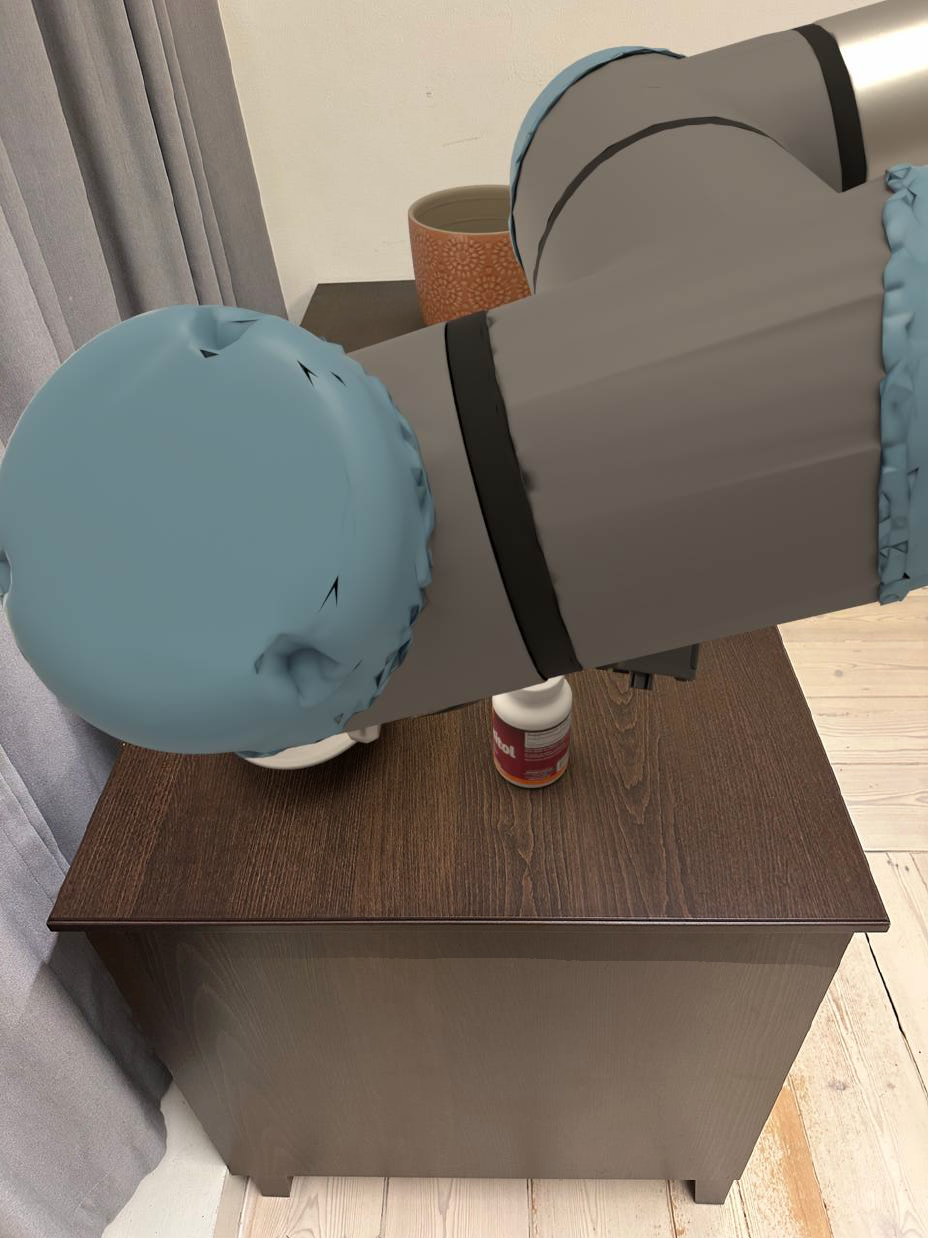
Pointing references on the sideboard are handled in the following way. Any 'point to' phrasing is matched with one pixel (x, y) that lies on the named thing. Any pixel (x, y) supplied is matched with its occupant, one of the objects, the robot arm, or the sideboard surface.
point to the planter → (464, 252)
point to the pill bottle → (533, 733)
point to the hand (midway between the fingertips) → (502, 631)
